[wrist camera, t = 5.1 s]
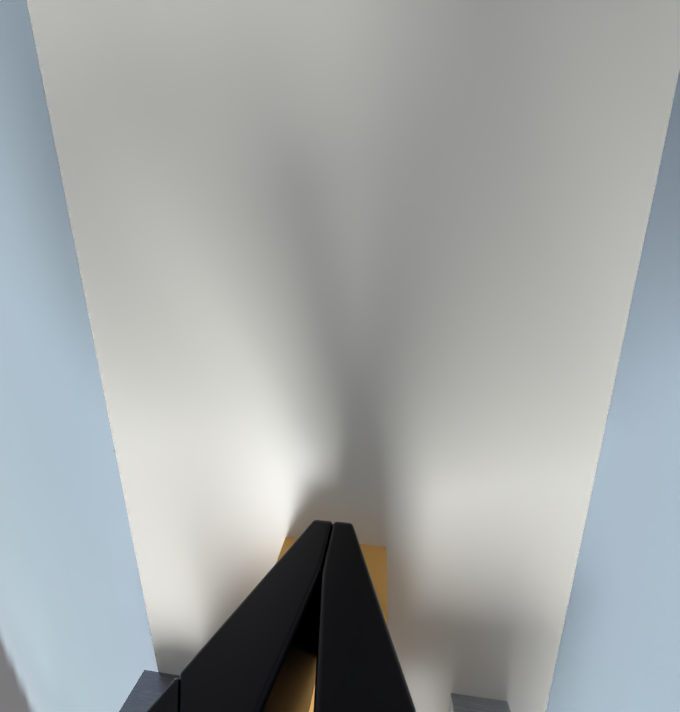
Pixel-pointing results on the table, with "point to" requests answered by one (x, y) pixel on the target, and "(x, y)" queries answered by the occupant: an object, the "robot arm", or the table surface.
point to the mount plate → (362, 294)
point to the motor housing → (153, 684)
